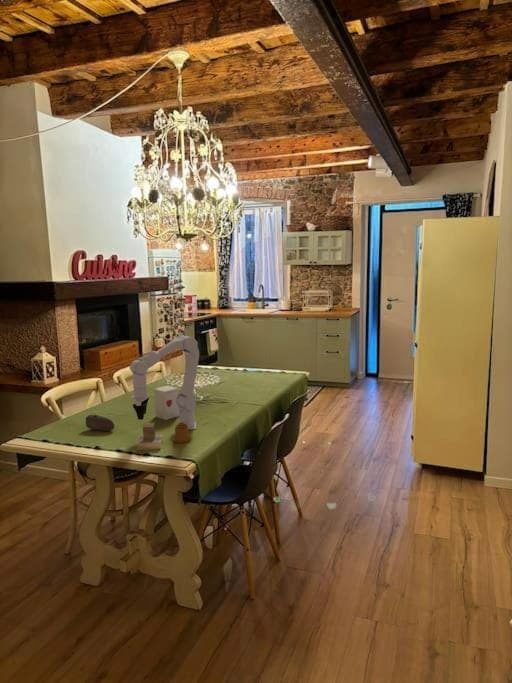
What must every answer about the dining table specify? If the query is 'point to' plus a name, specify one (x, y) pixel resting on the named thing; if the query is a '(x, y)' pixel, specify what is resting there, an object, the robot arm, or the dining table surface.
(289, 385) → the dining table surface
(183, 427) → the ornamental finial
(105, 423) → the perforated stone tool
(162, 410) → the supplement box
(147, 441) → the wooden framed grey panel
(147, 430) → the walnut block
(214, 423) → the dining table surface
